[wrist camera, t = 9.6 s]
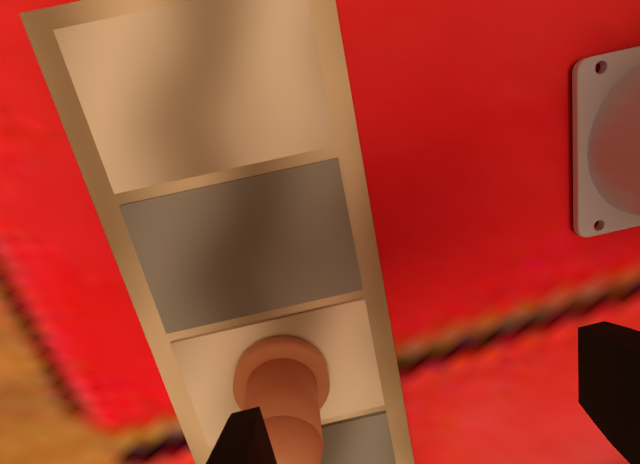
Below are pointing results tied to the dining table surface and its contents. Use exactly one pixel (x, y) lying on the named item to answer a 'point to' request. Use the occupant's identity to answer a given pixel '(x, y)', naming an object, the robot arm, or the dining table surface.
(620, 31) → the dining table surface
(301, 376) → the pawn
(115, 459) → the dining table surface
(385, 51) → the dining table surface
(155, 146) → the board
